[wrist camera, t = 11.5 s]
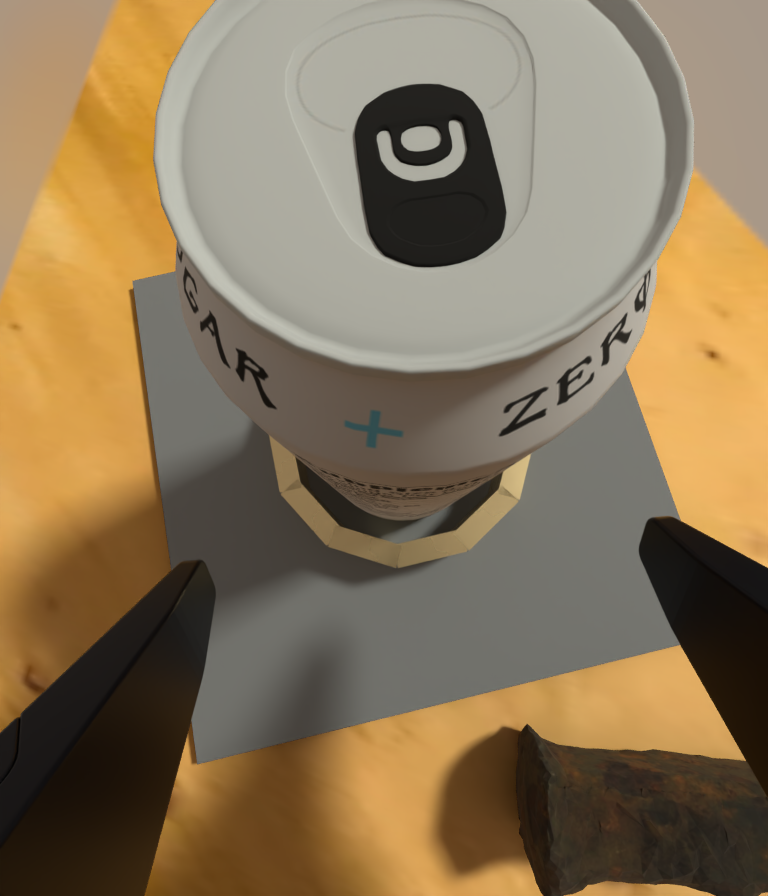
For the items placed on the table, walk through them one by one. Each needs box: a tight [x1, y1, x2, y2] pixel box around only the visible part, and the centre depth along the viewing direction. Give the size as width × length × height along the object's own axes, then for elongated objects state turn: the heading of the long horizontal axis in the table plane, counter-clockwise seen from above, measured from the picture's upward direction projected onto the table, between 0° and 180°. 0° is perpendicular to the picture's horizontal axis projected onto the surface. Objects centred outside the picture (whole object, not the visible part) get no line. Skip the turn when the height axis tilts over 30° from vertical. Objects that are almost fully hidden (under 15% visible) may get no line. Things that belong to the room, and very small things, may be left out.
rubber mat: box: [133, 272, 681, 764], centre depth 19 cm, size 20×20×1 cm
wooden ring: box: [269, 435, 531, 568], centre depth 18 cm, size 10×10×2 cm
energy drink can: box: [153, 0, 694, 521], centre depth 11 cm, size 6×6×15 cm
